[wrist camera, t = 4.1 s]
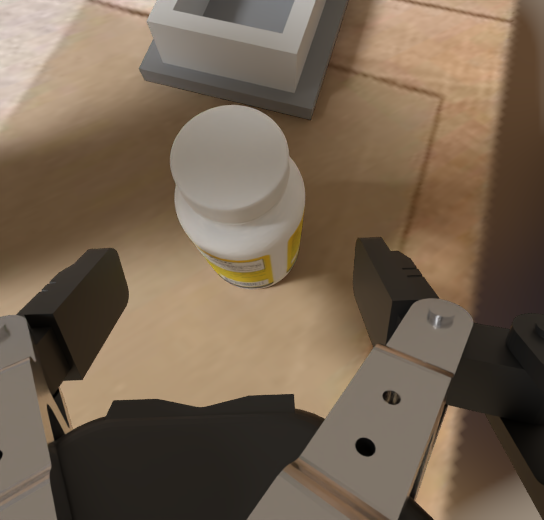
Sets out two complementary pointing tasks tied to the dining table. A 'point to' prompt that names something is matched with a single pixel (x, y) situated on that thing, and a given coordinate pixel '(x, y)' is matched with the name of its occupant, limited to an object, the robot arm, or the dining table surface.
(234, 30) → the board
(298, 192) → the supplement bottle
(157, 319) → the dining table surface
